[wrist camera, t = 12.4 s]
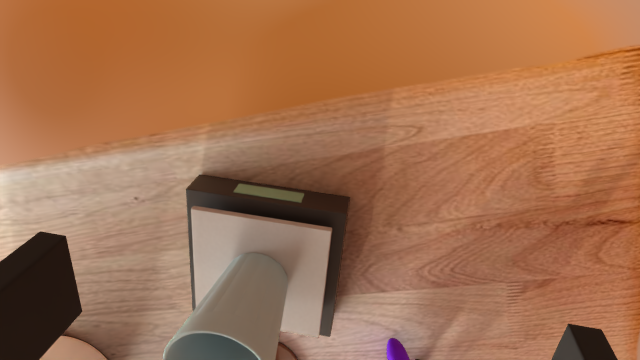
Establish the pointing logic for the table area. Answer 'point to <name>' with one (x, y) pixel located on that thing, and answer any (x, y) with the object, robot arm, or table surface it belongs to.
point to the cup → (236, 314)
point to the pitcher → (72, 350)
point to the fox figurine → (396, 350)
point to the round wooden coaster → (284, 353)
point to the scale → (270, 242)
